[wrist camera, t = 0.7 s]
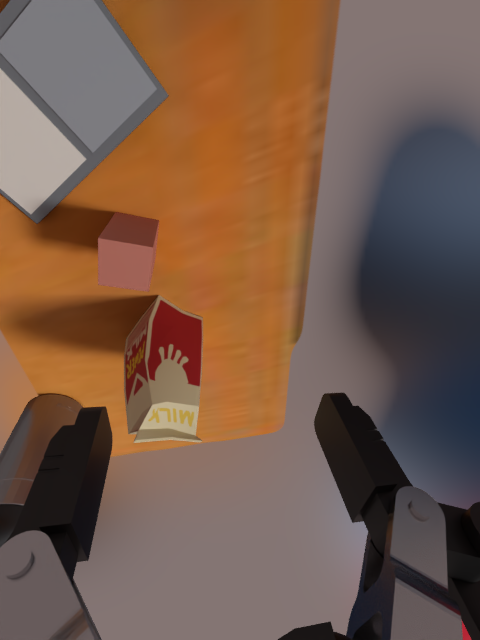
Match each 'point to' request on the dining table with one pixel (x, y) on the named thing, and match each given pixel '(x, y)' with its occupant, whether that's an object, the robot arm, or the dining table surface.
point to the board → (65, 97)
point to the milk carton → (163, 374)
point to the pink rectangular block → (127, 252)
